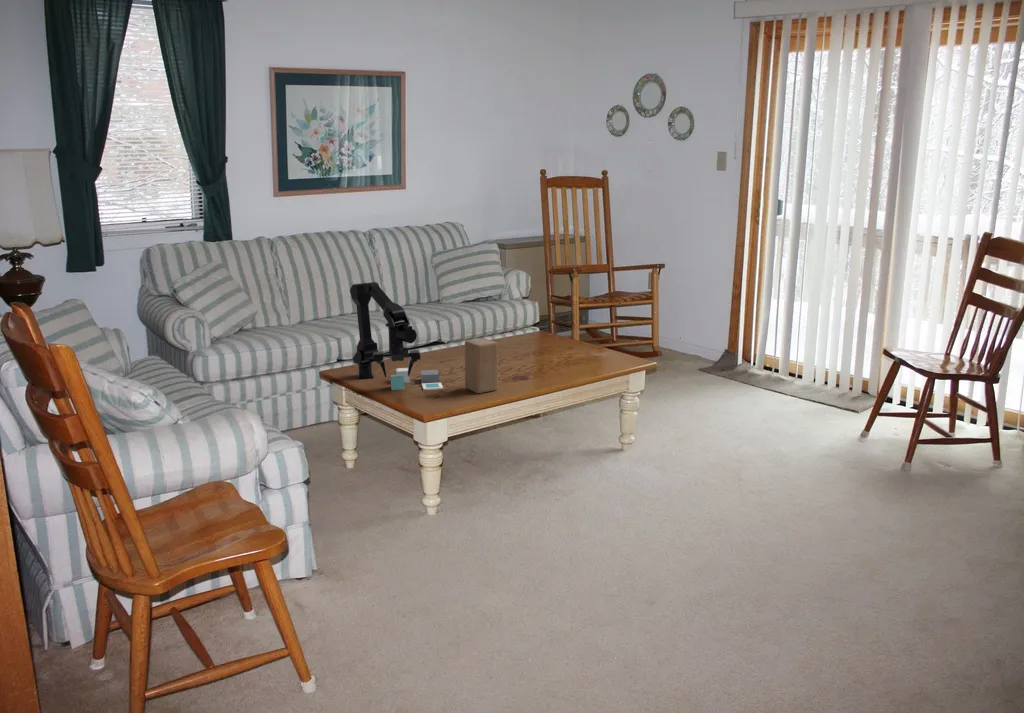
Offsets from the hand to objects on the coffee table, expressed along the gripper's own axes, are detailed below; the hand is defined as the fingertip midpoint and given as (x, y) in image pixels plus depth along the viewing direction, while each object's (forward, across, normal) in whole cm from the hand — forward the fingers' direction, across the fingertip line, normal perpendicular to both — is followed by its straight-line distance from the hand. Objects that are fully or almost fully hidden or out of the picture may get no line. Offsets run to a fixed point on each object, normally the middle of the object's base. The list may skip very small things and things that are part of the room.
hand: (397, 376), depth 363 cm
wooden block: (+5, +33, -8) cm, 34 cm away
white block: (+5, +3, +10) cm, 12 cm away
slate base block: (+5, +14, +8) cm, 17 cm away
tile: (+5, +14, -1) cm, 15 cm away
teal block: (+5, 0, 0) cm, 5 cm away
